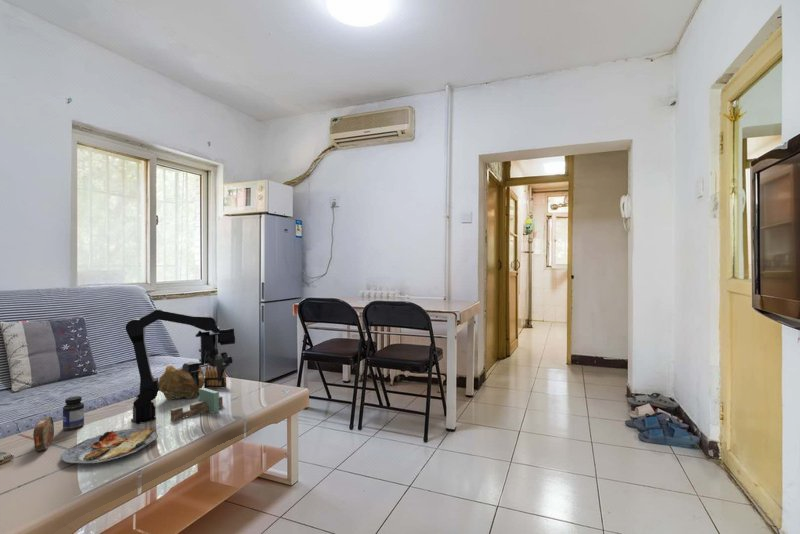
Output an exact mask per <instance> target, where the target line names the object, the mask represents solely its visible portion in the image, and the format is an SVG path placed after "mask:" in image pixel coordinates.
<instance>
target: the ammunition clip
mask: <svg viewBox="0 0 800 534" xmlns="http://www.w3.org/2000/svg"><path fill="white" fill-rule="evenodd" d="M204 370H205V371H204V378H205V383H204V385H203V388H204V387H225V388H227V387H226V386H227V374H226V369H225V370H224V373H223V375H222V378H221V381H220V382H219V381H218V377H217V366H216V367H212V366H211V365H209V366H205V369H204Z"/></svg>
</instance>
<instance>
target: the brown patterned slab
mask: <svg viewBox="0 0 800 534" xmlns="http://www.w3.org/2000/svg"><path fill="white" fill-rule="evenodd" d="M54 434H55V424H54V420H53V417H52V416H47V417H44V418H41V419H40V420H39V421H38V423H36V425H35V427H34V429H33V433H32V435H33V441H34V442H33V443H34V444H33V446H34V447H33V448H34V450H35V452H42V451H47V450H48V449H49V447H50V445H51V444H52V442H53V440H54V436H55V435H54Z"/></svg>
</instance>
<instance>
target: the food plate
mask: <svg viewBox="0 0 800 534" xmlns="http://www.w3.org/2000/svg"><path fill="white" fill-rule="evenodd" d="M158 438H159V435H158V433H157V432H156V431H155V430H154V428H153V427H150V428H128V429H127V428H125V429H120V430H111V431H106V432H104V433H103V434H99V435H96V436H95V437H91V438H87V439H85V440H82V442H79V443H78V444H75V445H73V446H71V447H70V448H68V449H66V450H64V451H63V452H62V453H61V454H60V455H59V459H60V460H61V461H63V462H66V463H70V464H81V465H84V464H97V463H98V464H99V463H103V462H109V461H110V462H113V461H115V460H116V459H120V458H123V457H125V456H128V455H131V454H134V453H136V452H138V451H139V450H141V449H143V448H145V447H147V445H149V444H151V443H153V441H155V440H156V439H158ZM83 455H84V456H83ZM81 457H83V458H82V459H83V460H82V459H80V458H81ZM97 459H98V460H97Z"/></svg>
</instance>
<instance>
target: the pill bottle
mask: <svg viewBox="0 0 800 534" xmlns="http://www.w3.org/2000/svg"><path fill="white" fill-rule="evenodd" d="M64 402H65V405H64V406H63V407H62V430H63V431H74V430H78V429H80V428H83V427H84V425H85V404H84V402H82V396H80V395H78V396H70V397H67V398H65V400H64Z"/></svg>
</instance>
